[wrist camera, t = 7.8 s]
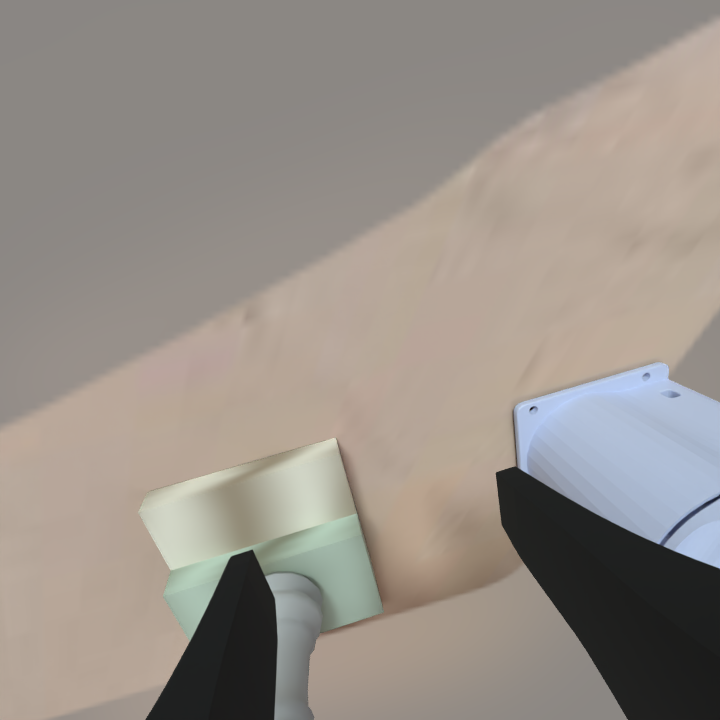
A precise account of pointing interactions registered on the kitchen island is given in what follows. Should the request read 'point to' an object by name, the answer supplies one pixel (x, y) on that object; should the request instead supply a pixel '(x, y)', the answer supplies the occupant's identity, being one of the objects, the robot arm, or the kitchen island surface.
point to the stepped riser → (266, 532)
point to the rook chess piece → (294, 641)
